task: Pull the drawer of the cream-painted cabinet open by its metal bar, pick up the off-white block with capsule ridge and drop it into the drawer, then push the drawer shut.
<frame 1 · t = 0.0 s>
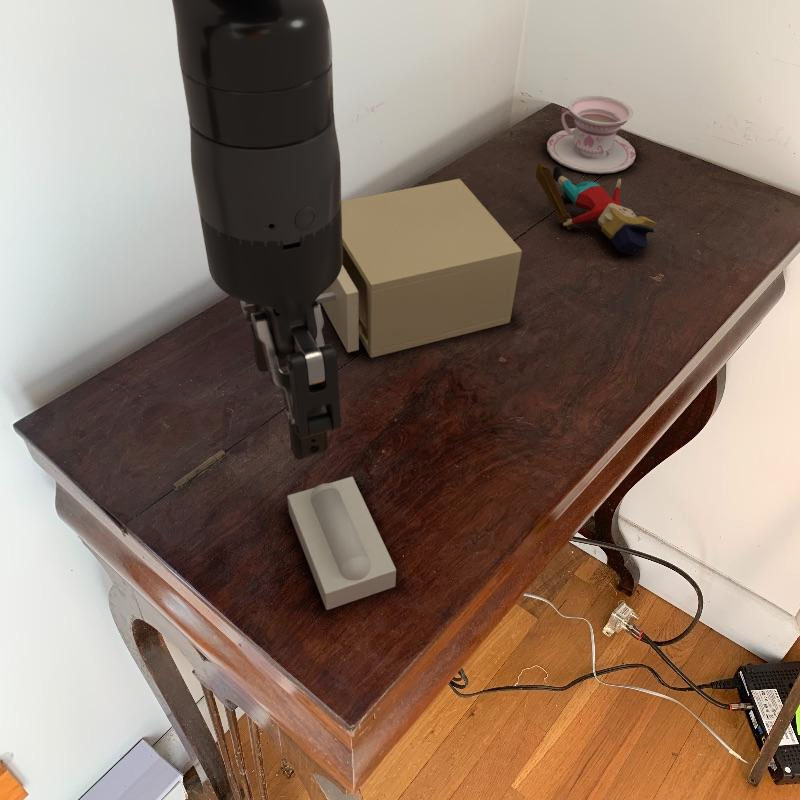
hand: (290, 407, 54), 15 cm above the table, tool pointing down, fingers open, 8 cm apart
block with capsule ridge: (340, 548, 64), on the table
teacup: (590, 154, 110), on the table
cabinet: (415, 299, 86), on the table
drawer: (369, 275, 81), point 5 cm above the table, slide at 1.0 cm
toy: (589, 231, 97), on the table
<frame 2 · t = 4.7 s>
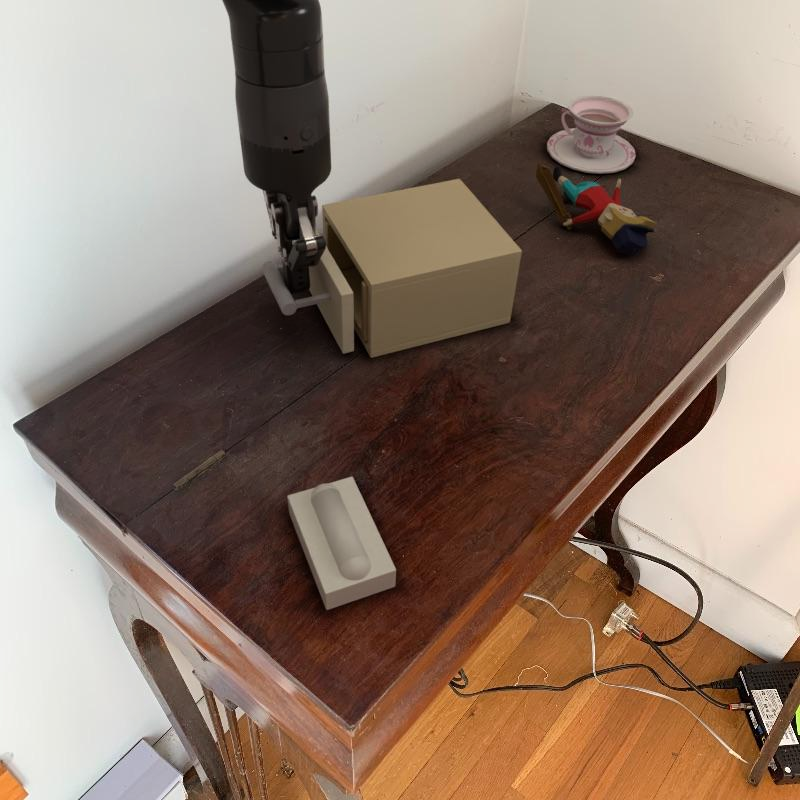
hand: (297, 288, 79), 5 cm above the table, tool pointing down, fingers closed
drawer: (365, 276, 81), point 5 cm above the table, slide at 1.5 cm, touching gripper
everything else where it was.
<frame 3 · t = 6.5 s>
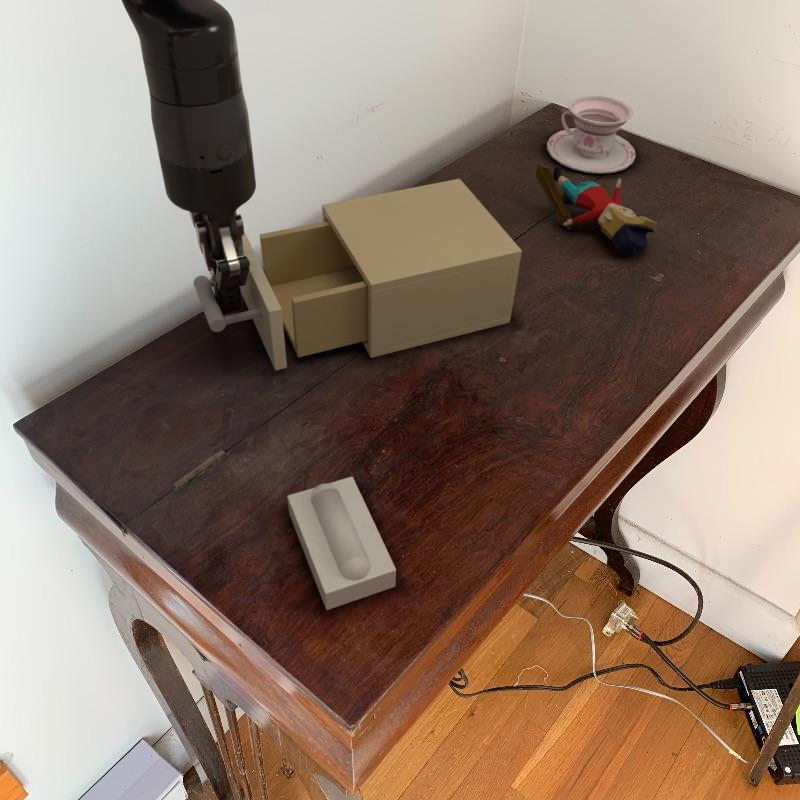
hand: (229, 307, 77), 4 cm above the table, tool pointing down, fingers closed
drawer: (300, 290, 79), point 5 cm above the table, slide at 8.3 cm
everything else where it was.
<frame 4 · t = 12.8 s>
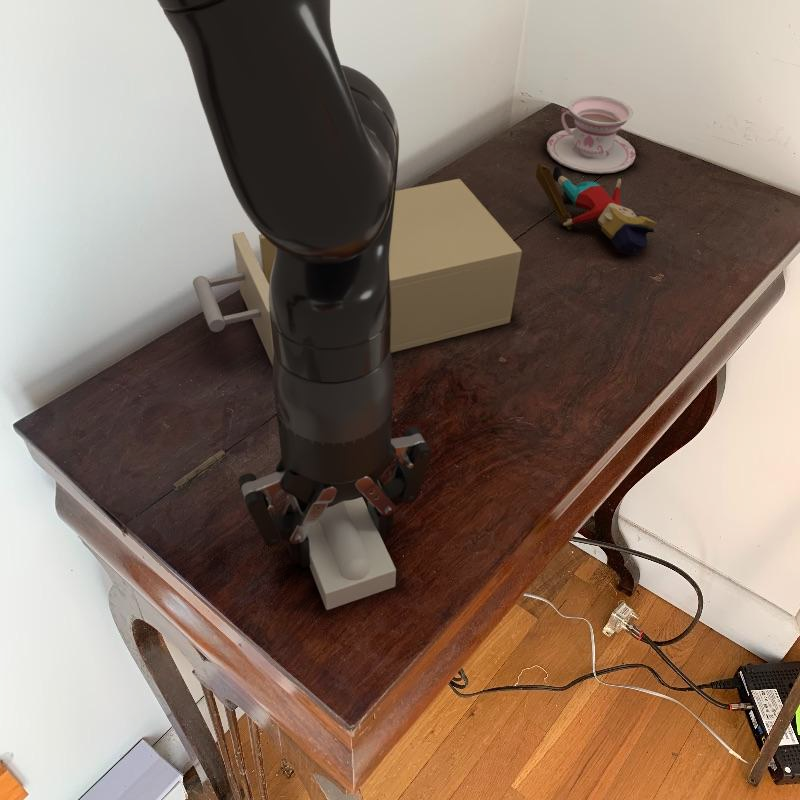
hand: (339, 544, 63), 1 cm above the table, tool pointing down, fingers closed on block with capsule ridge, 5 cm apart
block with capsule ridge: (340, 548, 64), on the table, touching gripper
everything else where it was.
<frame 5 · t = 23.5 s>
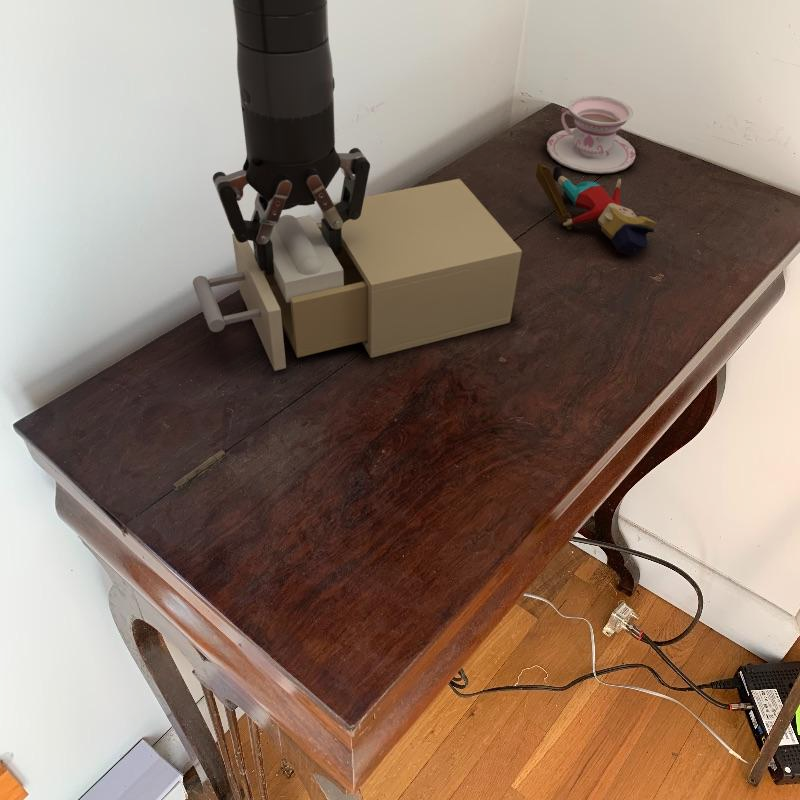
hand: (299, 262, 77), 8 cm above the table, tool pointing down, fingers closed on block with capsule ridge, 5 cm apart
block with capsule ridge: (300, 267, 77), point 7 cm above the table, touching gripper
everything else where it was.
when the fingers open (10 cm above the table, at t = 34.3 s): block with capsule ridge drops 8 cm, resting on drawer.
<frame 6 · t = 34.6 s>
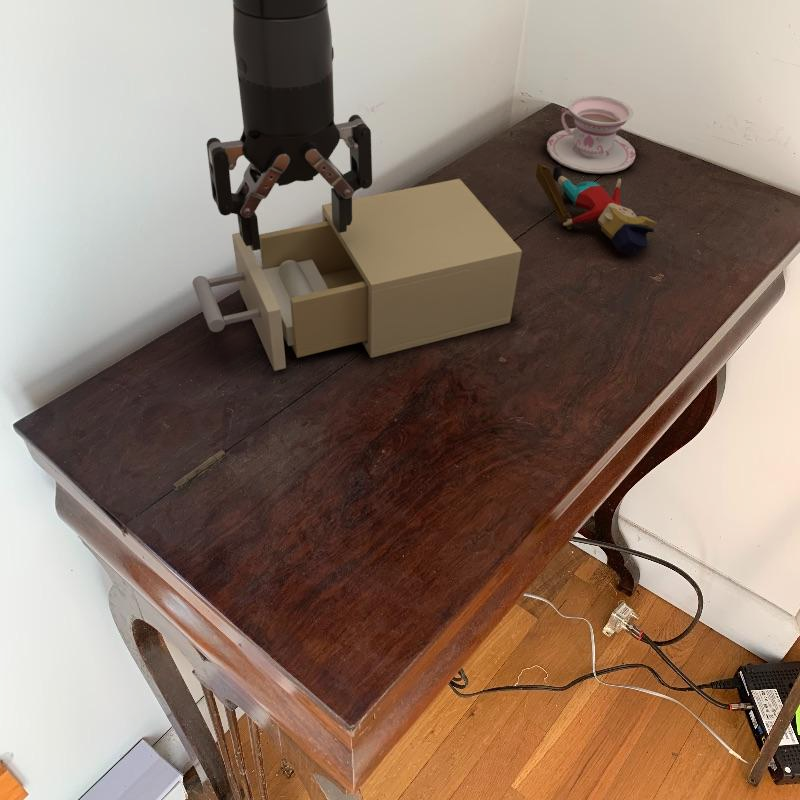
hand: (297, 236, 75), 11 cm above the table, tool pointing down, fingers open, 8 cm apart
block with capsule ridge: (301, 310, 81), point 2 cm above the table, touching drawer
drawer: (299, 290, 79), point 5 cm above the table, slide at 8.4 cm, touching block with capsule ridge
everything else where it was.
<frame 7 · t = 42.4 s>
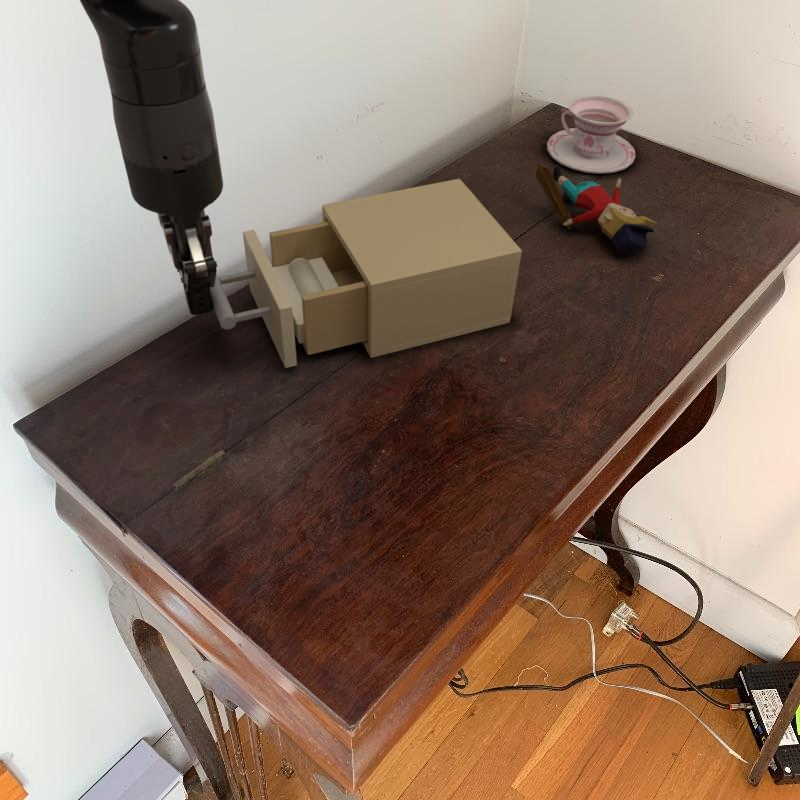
hand: (200, 308, 77), 5 cm above the table, tool pointing down, fingers closed
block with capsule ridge: (311, 308, 82), point 2 cm above the table, touching drawer
drawer: (310, 288, 80), point 5 cm above the table, slide at 7.3 cm, touching gripper, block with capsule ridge
everything else where it was.
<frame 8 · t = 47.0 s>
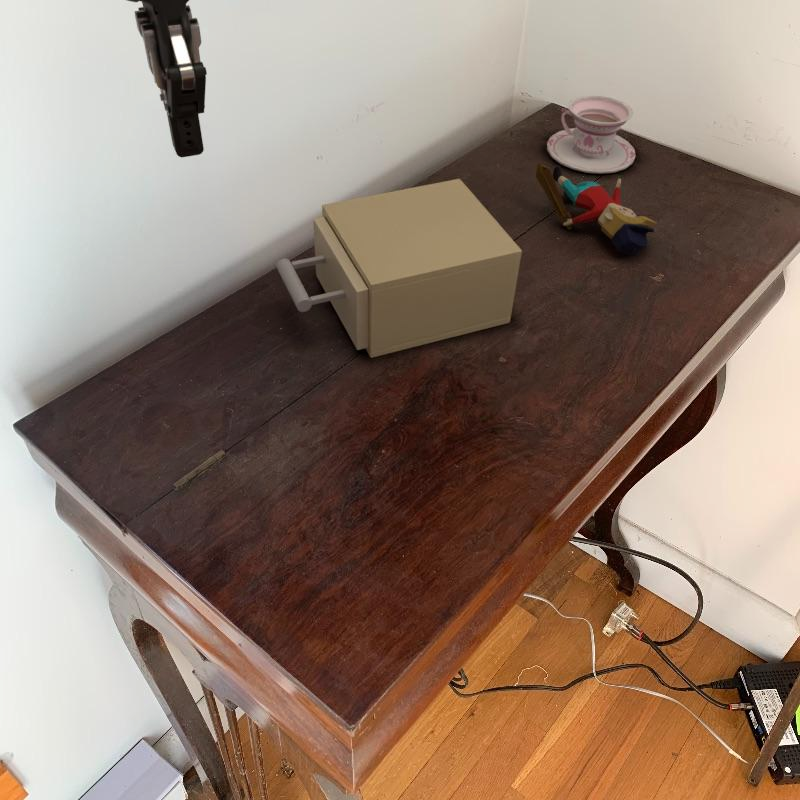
hand: (189, 151, 65), 21 cm above the table, tool pointing down, fingers closed
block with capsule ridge: (378, 292, 84), point 2 cm above the table, touching drawer
drawer: (379, 273, 82), point 5 cm above the table, slide at 0.0 cm, touching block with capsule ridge
everything else where it was.
at the end: drawer pulled out 8.4 cm at the most during the clip, back to where it started at the end; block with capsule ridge inside the target area in the cabinet (0.2 cm from its centre), point 2.0 cm above the cabinet's base; drawer slide at 0.0 cm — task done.
